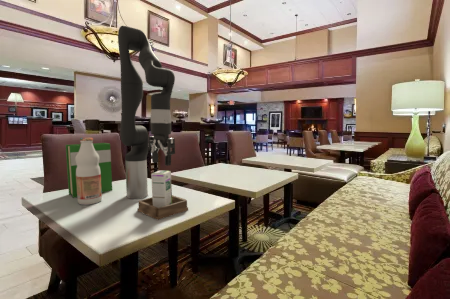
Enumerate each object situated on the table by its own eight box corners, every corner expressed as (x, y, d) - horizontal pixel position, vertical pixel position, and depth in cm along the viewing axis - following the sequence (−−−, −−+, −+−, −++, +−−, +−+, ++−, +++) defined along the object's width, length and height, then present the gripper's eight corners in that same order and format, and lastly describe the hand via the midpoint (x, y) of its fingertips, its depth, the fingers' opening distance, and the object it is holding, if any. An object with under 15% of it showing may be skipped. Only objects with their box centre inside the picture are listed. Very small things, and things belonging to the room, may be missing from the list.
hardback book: (73, 197, 115) (69, 146, 113) (68, 194, 121) (65, 144, 118) (112, 190, 128) (110, 143, 125) (106, 187, 133) (104, 142, 130)
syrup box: (166, 210, 96) (165, 173, 94) (152, 209, 97) (151, 172, 96) (172, 205, 101) (171, 170, 100) (159, 204, 103) (158, 170, 101)
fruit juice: (72, 204, 106) (68, 138, 103) (89, 197, 115) (85, 137, 112) (91, 206, 104) (87, 138, 101) (106, 199, 113) (103, 137, 110)
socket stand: (137, 210, 99) (137, 200, 98) (167, 202, 109) (167, 193, 108) (157, 220, 89) (157, 209, 89) (188, 209, 100) (188, 200, 99)
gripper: (142, 121, 97) (143, 162, 99) (163, 122, 88) (163, 167, 90) (158, 121, 103) (159, 160, 105) (180, 122, 93) (180, 165, 95)
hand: (161, 163), depth 97 cm, fingers open, 8 cm apart
